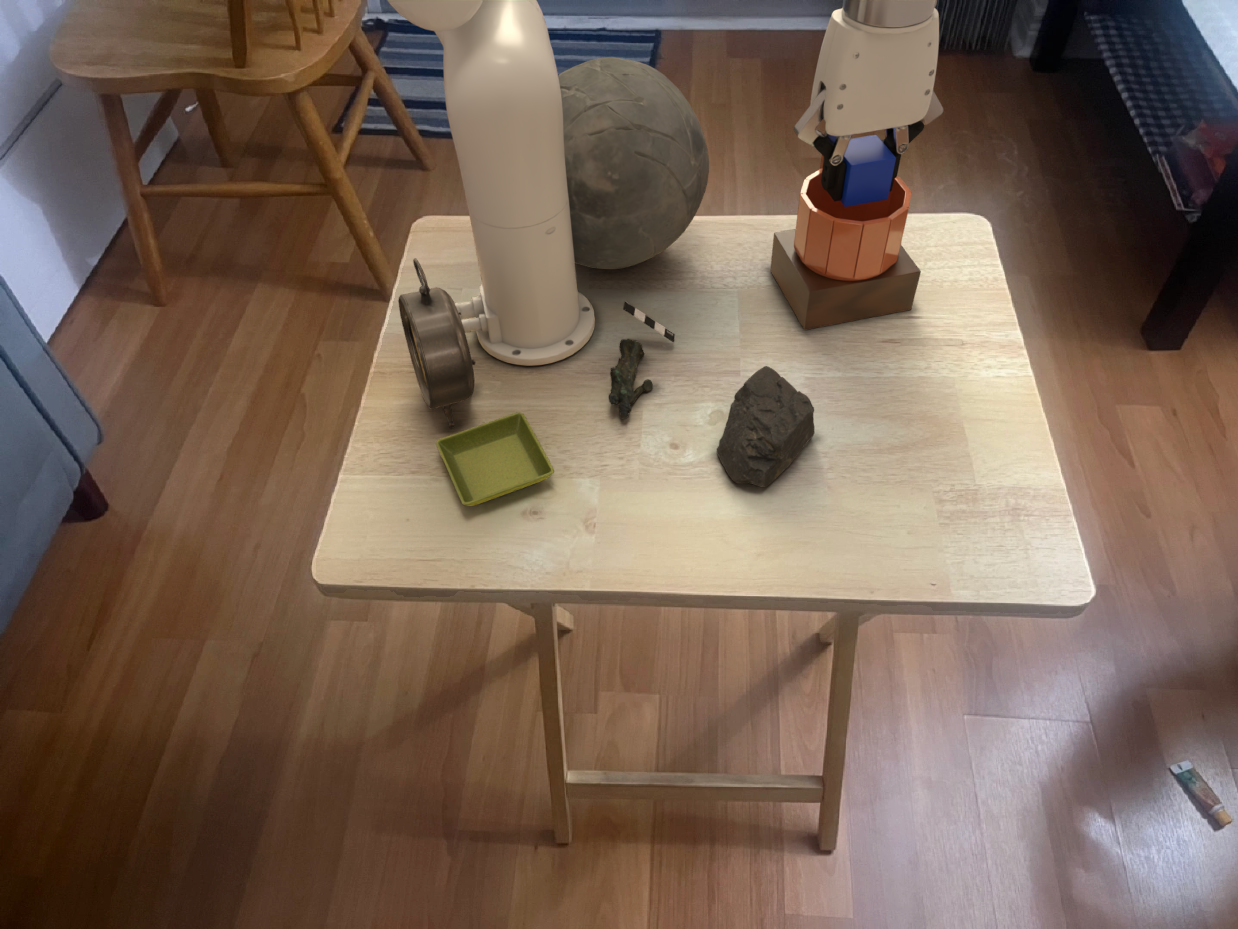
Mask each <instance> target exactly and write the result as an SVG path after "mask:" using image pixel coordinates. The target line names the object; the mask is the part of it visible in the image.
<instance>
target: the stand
mask: <svg viewBox="0 0 1238 929" xmlns="http://www.w3.org/2000/svg"><path fill="white" fill-rule="evenodd" d="M795 230H796V228H793V229H787V230H781V231H777V232H776V231H775V232H774V233H773V239H772V247H771V248H772V250H771V260H770V270H769V271H770V272H771V274H772V276H773V278H774V279H775V281H776V283H777V285H778V287H779V289H780V290H781V292H782V293H783V295H784V297H785V298H786V301H787V303H788V304H789V306H790V308H791V309H792V311H793V313H794V314H795V317H796V318H797V320H798V322H799V323H800V325H801V327H802V329H803V331H808V330H811V329H813V330H814V329H818V328H822V327H827V326H833V325H834V326H835V325H838V324H844V323H849V322H854V321H859V320H865V319H869V318H874V317H880V316H885V315H891V314H897V313H900V312H905V311H911V310H912V309H913V304H914V301H915V296H916V293H917V290H918V285H919V281H920V277H921V273H922V271H921V270H920V268H919V267H918V265H917V264H916V262H914V260H913V259H912V257H911V256H910V255H909V254H908V252H907V250H905V248H904V247H903V245H902V244H901V246H900V250H899V255H898V259H897V261H896V263H894V264H893V265H892V266H890V267H889V268H888V269H887V270H886V271H885V272H883V273H882V274H880V275H878V276H876V277H873V278H869V279H865V280H858V281H844V280H836V279H831V278H828V277H825V276H822V275H820V274H817V273H815V272H814V271H812V270H810V269H809V268H808V267H807V266H806V265H805V264H804V263H803V262H802V261H801V260H800V258H799V255H798V254H797V252H796V251H795V249H794V238H795Z"/></svg>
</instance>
